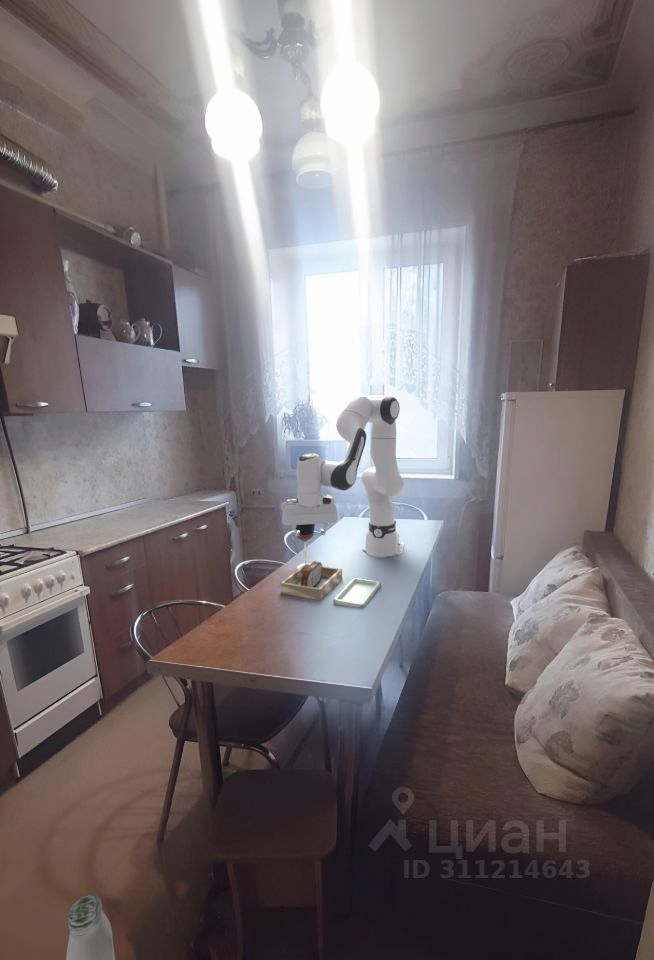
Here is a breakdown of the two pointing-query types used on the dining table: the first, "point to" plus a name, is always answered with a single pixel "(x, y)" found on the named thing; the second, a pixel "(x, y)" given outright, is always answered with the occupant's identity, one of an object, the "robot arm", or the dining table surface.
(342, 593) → the sage tray
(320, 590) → the birch crate
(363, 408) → the robot arm
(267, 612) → the dining table surface
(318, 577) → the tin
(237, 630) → the dining table surface
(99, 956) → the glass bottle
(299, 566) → the wineglass
